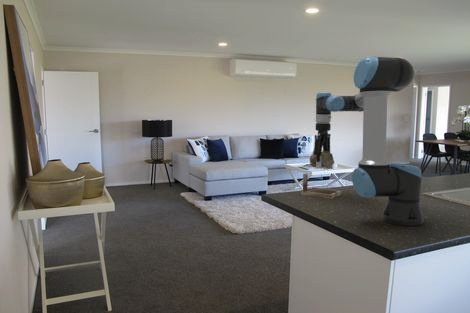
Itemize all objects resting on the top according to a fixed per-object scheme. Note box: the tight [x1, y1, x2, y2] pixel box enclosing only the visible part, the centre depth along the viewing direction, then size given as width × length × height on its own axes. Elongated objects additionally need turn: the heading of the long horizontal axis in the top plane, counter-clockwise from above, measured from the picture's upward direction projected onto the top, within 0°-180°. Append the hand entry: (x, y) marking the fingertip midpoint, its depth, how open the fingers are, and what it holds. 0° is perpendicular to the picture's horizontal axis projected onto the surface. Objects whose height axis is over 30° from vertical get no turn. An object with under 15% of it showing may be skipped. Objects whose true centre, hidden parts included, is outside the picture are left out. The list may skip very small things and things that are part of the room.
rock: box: [309, 149, 335, 170], centre depth 197 cm, size 12×7×10 cm, turn 46°
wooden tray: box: [300, 173, 343, 200], centre depth 198 cm, size 13×17×11 cm
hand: (321, 167), depth 197 cm, fingers closed on rock, 7 cm apart
